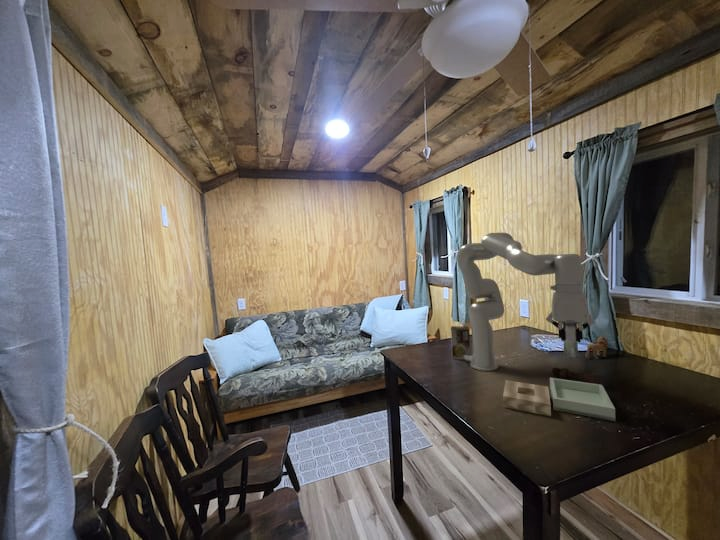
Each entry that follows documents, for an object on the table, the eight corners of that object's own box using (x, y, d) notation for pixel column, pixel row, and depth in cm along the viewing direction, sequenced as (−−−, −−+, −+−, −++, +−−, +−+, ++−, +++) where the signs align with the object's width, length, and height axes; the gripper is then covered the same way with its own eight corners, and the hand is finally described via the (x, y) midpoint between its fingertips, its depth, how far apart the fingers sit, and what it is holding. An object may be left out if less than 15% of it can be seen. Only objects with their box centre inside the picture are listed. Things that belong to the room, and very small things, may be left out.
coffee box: (470, 355, 150) (468, 326, 150) (470, 360, 144) (469, 329, 144) (452, 354, 153) (451, 325, 153) (452, 359, 147) (450, 328, 147)
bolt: (554, 378, 122) (597, 389, 110) (549, 375, 120) (592, 387, 107) (556, 365, 124) (599, 375, 111) (551, 362, 121) (594, 371, 109)
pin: (561, 356, 98) (559, 319, 97) (560, 351, 103) (558, 316, 102) (583, 359, 95) (581, 321, 94) (580, 353, 100) (579, 317, 99)
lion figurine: (598, 352, 144) (598, 335, 144) (611, 355, 140) (610, 337, 139) (582, 358, 138) (581, 340, 138) (595, 361, 133) (594, 342, 133)
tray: (553, 409, 96) (553, 398, 96) (550, 387, 111) (549, 377, 111) (615, 421, 88) (615, 408, 87) (602, 395, 103) (602, 384, 103)
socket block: (503, 407, 99) (503, 396, 99) (506, 390, 111) (505, 380, 111) (551, 416, 92) (550, 404, 92) (548, 397, 104) (548, 386, 104)
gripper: (540, 290, 99) (542, 341, 100) (601, 290, 90) (603, 346, 91) (540, 287, 106) (542, 335, 106) (597, 287, 97) (599, 340, 97)
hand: (570, 340), depth 99 cm, fingers closed on pin, 4 cm apart
